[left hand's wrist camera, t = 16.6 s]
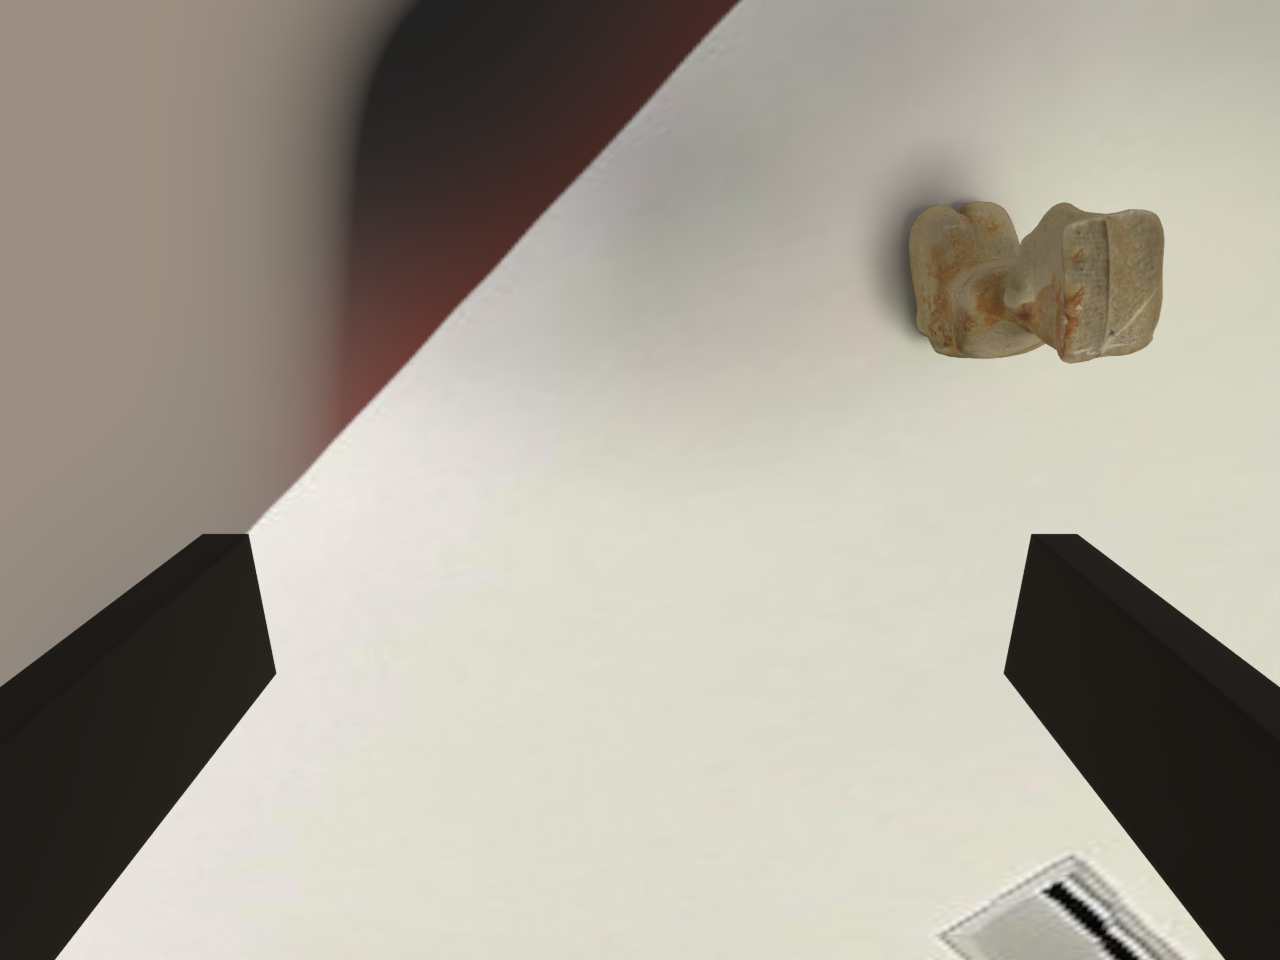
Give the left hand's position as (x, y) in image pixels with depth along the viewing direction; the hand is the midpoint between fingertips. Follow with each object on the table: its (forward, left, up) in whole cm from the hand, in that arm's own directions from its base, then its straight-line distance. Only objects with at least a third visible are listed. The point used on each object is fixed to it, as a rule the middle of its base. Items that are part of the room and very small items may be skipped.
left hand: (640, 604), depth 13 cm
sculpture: (-13, +9, -30) cm, 34 cm away
